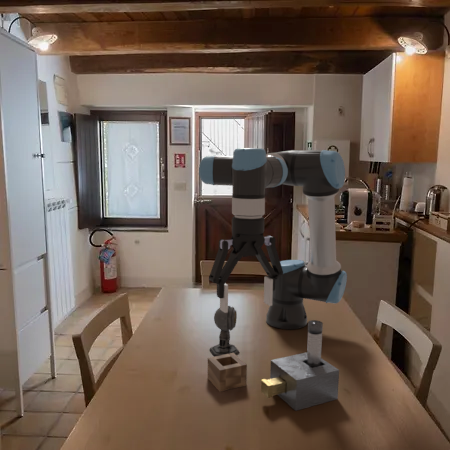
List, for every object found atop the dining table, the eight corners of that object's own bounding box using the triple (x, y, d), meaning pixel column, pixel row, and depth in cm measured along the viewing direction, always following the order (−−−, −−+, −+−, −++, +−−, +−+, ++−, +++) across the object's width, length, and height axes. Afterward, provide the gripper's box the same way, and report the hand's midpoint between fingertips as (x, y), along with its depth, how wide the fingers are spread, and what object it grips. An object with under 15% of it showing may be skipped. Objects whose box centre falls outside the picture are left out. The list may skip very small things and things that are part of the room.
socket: (269, 388, 123) (270, 360, 122) (309, 378, 128) (310, 351, 127) (295, 410, 112) (296, 380, 111) (337, 399, 118) (339, 369, 117)
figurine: (237, 359, 140) (238, 312, 138) (206, 355, 142) (206, 309, 140) (242, 347, 148) (242, 303, 146) (212, 344, 150) (212, 300, 148)
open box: (233, 372, 131) (233, 352, 130) (246, 385, 124) (246, 364, 123) (207, 378, 128) (207, 357, 127) (219, 391, 121) (219, 370, 120)
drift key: (261, 391, 116) (261, 379, 116) (291, 384, 120) (291, 372, 120) (268, 398, 113) (268, 386, 113) (298, 390, 117) (299, 378, 117)
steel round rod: (313, 382, 124) (316, 319, 121) (322, 389, 121) (325, 324, 118) (302, 385, 122) (305, 321, 119) (311, 392, 119) (313, 326, 116)
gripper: (282, 211, 114) (279, 296, 117) (194, 216, 103) (194, 309, 107) (300, 215, 107) (296, 305, 110) (207, 221, 97) (207, 319, 100)
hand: (246, 307), depth 109 cm, fingers open, 11 cm apart
